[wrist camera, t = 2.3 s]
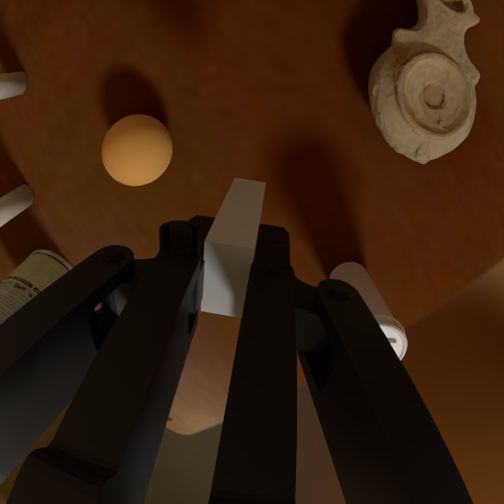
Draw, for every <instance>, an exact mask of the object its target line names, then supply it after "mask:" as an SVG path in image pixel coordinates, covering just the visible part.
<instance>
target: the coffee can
mask: <svg viewBox="0 0 504 504" xmlns="http://www.w3.org/2000/svg"><path fill="white" fill-rule="evenodd" d="M72 268H73V267H72V266H71V264H69V263H68V262H67V261H66V260H65V259H64V258H63V257H61V256H60V255H58V254H56V253H54V252H52V251H49V250H45V249H40V250H35V251H34V252H32V253H31V254H30V255H29V257H28V258H27V259H26V260H24V261H23V262H22V263H21V264H20V265H19V266H18V267H17V268H16V269H15V270H14V271H13V272H12V273H11V274H10V275H9V276H8V277H7V278H6V279H5V280H4V281H2V282H1V284H0V324H1V323H3V322H4V321H5V320H6V319H7V318H9V317H10V316H11V315H12V314H14V313H15V312H16V311H17V310H18V309H20V308H21V307H22V306H23V305H25V304H26V303H27V302H28V301H30V300H31V299H32V298H34V297H35V296H36V295H37V294H39V293H40V292H41V291H43V290H44V289H45V288H47V287H48V286H49V285H50V284H52V283H53V282H54V281H56V280H57V279H59V278H60V277H61V276H63V275H64V274H65V273H67V272H68V271H69V270H71V269H72Z"/></svg>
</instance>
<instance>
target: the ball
mask: <svg viewBox="0 0 504 504" xmlns="http://www.w3.org/2000/svg"><path fill="white" fill-rule="evenodd" d="M171 156H172V140H171V136H170V134H169V132H168V130H167V128H166V127H165V126H164V125H163V124H162V123H161V122H160V121H159V120H157V119H155V118H154V117H151V116H148V115H142V114H137V115H130V116H127V117H125V118H123V119H121V120H119V121H118V122H116V123H115V124H114V125H113V126H112V127H111V128H110V129H109V131H108V132H107V134H106V136H105V138H104V141H103V144H102V160H103V163H104V166H105V168H106V170H107V171H108V173H109V174H110V175H111V176H112V177H113V178H114V179H115V180H117V181H118V182H120V183H123V184H126V185H130V186H139V185H144V184H147V183H150V182H152V181H154V180H155V179H157V178H158V177H159V176H160V175H161V174H162V173H163V172H164V171H165V170H166V168H167V166H168V165H169V162H170V160H171Z"/></svg>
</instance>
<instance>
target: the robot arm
mask: <svg viewBox="0 0 504 504" xmlns="http://www.w3.org/2000/svg"><path fill="white" fill-rule="evenodd" d="M265 185H266V182H259V181H253V180H246V179H239V178H235V179H234V181H233V183H232V185H231V187H230V189H229V191H228V193H227V195H226V197H225V199H224V201H223V204H222V206H221V208H220V210H219V212H218V214H217V216H216V218H213V217H206V216H199V215H197V216H195V217H193V218H191V219H189V221H180V220H177V221H170V222H167V223H164V224H163V225H161V226H160V227H159V239H160V251H159V253H158V254H157V256H156V257H155V258H152V259H134V253H133V252H132V250H131V249H129V248H127V247H125V246H120V245H110V246H107V247H104V248H102V249H100V250H98V251H96V252H95V253H93V254H92V255H90V256H89V257H88V258H86V259H85V260H83V261H82V262H81V263H79V264H78V265H76V266H75V267H74V268H72V269H71V270H69V271H68V272H67V273H65V274H64V275H63V276H61V277H60V278H59V279H57V280H56V281H54V282H53V283H52V284H50V285H49V286H48V287H47V288H45V289H44V290H43V291H41V292H40V293H39V294H37V295H36V296H35V297H34V298H32V299H31V300H30V301H28V302H27V303H26V304H25V305H23V306H22V307H21V308H20V309H18V310H17V311H16V312H15V313H14V314H12V315H11V316H10V317H9V318H7V319H6V320H5V321H4V322H3V323H1V324H0V484H1V483H2V482H3V481H4V480H5V479H6V478H7V477H8V475H9V474H10V473H11V471H12V470H13V469H14V468H15V467H16V465H17V464H18V463H19V462H20V460H21V459H22V458H23V457H24V456H25V454H26V453H27V452H28V451H29V449H30V448H31V447H32V446H33V445H34V443H35V442H36V441H37V440H38V439H39V437H40V436H41V435H42V434H43V432H45V430H46V429H47V428H48V427H49V426H50V424H51V423H52V422H53V421H54V420H55V418H56V417H57V416H58V415H59V414H60V413H61V412H62V410H63V409H64V408H65V407H66V406H67V405H68V403H69V402H70V401H71V400H72V399H73V400H72V402H71V403H70V405H69V408H68V410H67V411H66V413H65V416H64V418H63V420H62V422H61V424H60V426H59V428H58V430H57V432H56V434H55V436H54V439H53V440H52V442H51V443H50V445H49V446H47V447H45V448H39V449H35V450H34V451H32V452H31V453H30V454H29V455H28V456H27V458H26V460H25V461H24V463H23V465H22V467H21V469H20V472H19V474H18V476H17V478H16V481H15V483H14V486H13V488H12V490H11V493H10V495H9V498H8V500H7V503H6V504H144V502H145V498H146V494H147V490H148V486H149V483H150V479H151V476H152V472H153V468H154V465H155V461H156V458H157V454H158V450H159V447H160V444H161V440H162V437H163V433H164V430H165V426H166V423H167V420H168V416H169V413H170V409H171V406H172V403H173V399H174V396H175V393H176V390H177V386H178V383H179V380H180V377H181V373H182V370H183V367H184V364H185V360H186V357H187V354H188V351H189V348H190V345H191V341H192V338H193V335H194V332H195V329H196V326H197V323H198V309H199V307H200V304H201V311H205V312H210V313H216V314H222V315H227V316H233V317H240V318H242V319H241V324H240V330H239V336H238V341H237V347H236V353H235V358H234V364H233V369H232V375H231V381H230V386H229V392H228V398H227V403H226V409H225V415H224V420H223V426H222V431H221V437H220V443H219V449H218V455H217V460H216V466H215V471H214V477H213V482H212V488H211V493H210V498H209V503H208V504H295V486H296V485H295V484H296V450H297V449H296V447H297V445H296V444H297V353H298V357H299V360H300V363H301V366H302V369H303V372H304V375H305V378H306V381H307V384H308V387H309V390H310V393H311V396H312V399H313V402H314V405H315V408H316V411H317V415H318V418H319V421H320V424H321V427H322V430H323V433H324V436H325V439H326V442H327V445H328V448H329V452H330V455H331V458H332V461H333V464H334V467H335V470H336V473H337V477H338V480H339V483H340V486H341V489H342V492H343V495H344V499H345V502H346V504H473V502H472V500H471V497H470V495H469V493H468V491H467V488H466V486H465V484H464V482H463V479H462V477H461V475H460V473H459V471H458V469H457V466H456V465H455V462H454V460H453V458H452V456H451V454H450V452H449V450H448V448H447V446H446V444H445V442H444V440H443V438H442V436H441V434H440V432H439V430H438V428H437V426H436V424H435V422H434V421H433V418H432V417H431V415H430V413H429V411H428V409H427V407H426V405H425V404H424V402H423V400H422V398H421V396H420V394H419V393H418V391H417V389H416V387H415V385H414V383H413V382H412V380H411V378H410V376H409V375H408V373H407V371H406V369H405V368H404V366H403V364H402V362H401V361H400V359H399V357H398V355H397V354H396V352H395V350H394V349H393V347H392V345H391V344H390V342H389V340H388V339H387V337H386V335H385V334H384V332H383V330H382V329H381V327H380V325H379V324H378V322H377V321H376V319H375V317H374V316H373V314H372V312H371V311H370V309H369V308H368V306H367V304H366V303H365V301H364V300H363V298H362V297H361V295H360V293H359V292H358V291H357V290H356V289H355V287H354V286H352V285H350V284H349V283H347V282H345V281H342V280H339V279H325V280H323V281H321V282H319V284H318V286H317V287H314V286H312V285H309V284H306V283H304V282H302V281H301V280H299V279H297V278H296V277H295V276H294V270H293V267H291V266H290V248H289V247H290V243H289V233H288V232H287V231H286V230H285V228H283V227H277V226H271V225H265V224H259V223H260V217H261V210H262V204H263V198H264V191H265ZM99 303H101V308H100V309H99V310H98V311H96V312H95V310H94V308H95V307H96V306H97V305H98V304H99Z"/></svg>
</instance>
